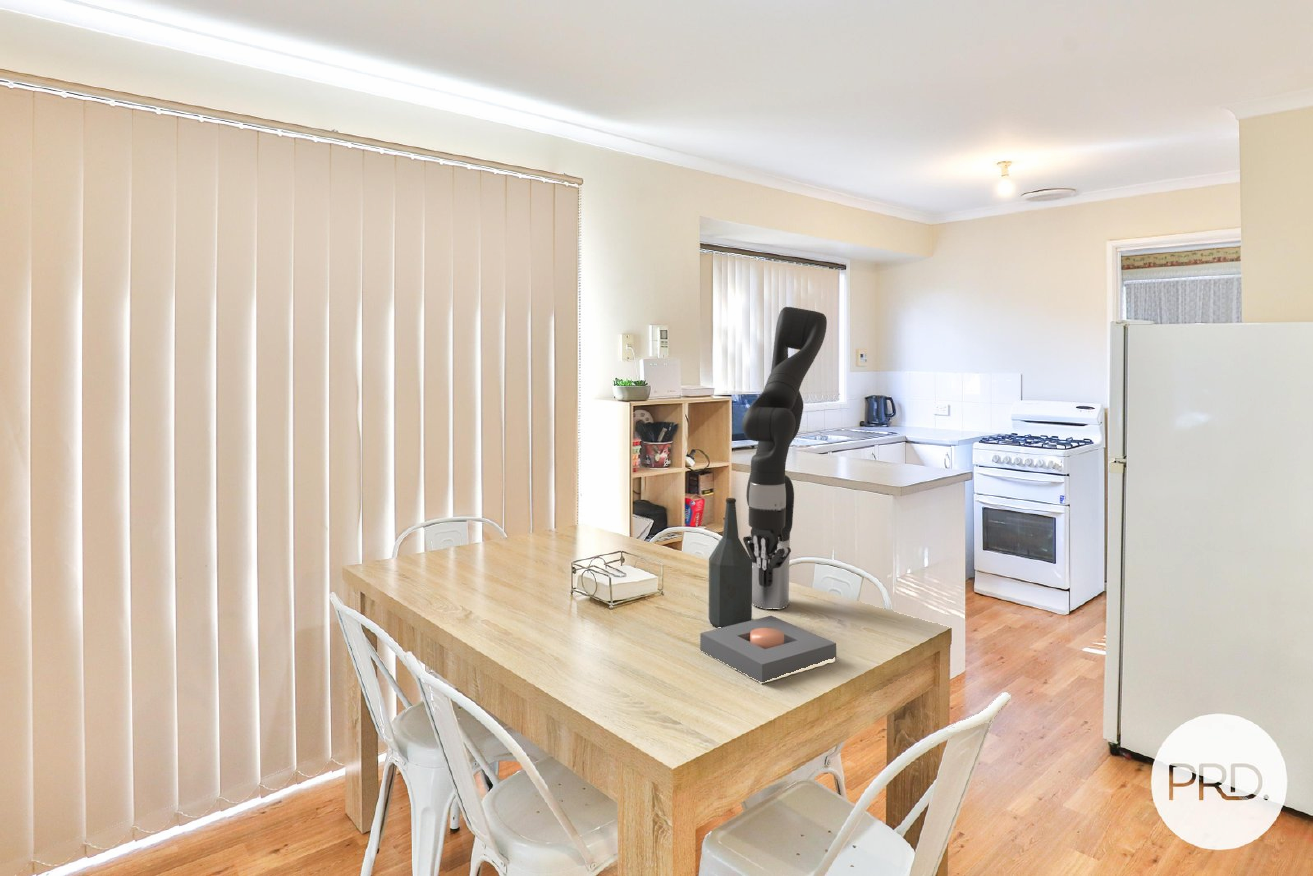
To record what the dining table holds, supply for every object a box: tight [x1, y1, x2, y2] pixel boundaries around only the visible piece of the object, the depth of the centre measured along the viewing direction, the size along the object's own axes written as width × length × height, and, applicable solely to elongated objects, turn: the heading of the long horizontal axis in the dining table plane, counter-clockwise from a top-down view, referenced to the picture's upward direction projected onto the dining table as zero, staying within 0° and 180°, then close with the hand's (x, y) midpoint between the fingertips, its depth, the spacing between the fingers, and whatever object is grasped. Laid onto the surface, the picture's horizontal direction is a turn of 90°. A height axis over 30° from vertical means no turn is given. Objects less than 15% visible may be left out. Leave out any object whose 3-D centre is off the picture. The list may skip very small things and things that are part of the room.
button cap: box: [750, 628, 784, 649], centre depth 159 cm, size 7×7×4 cm
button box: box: [699, 615, 837, 682], centre depth 159 cm, size 20×20×4 cm
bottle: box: [708, 497, 753, 628], centre depth 177 cm, size 10×10×30 cm
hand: (765, 585), depth 157 cm, fingers closed
